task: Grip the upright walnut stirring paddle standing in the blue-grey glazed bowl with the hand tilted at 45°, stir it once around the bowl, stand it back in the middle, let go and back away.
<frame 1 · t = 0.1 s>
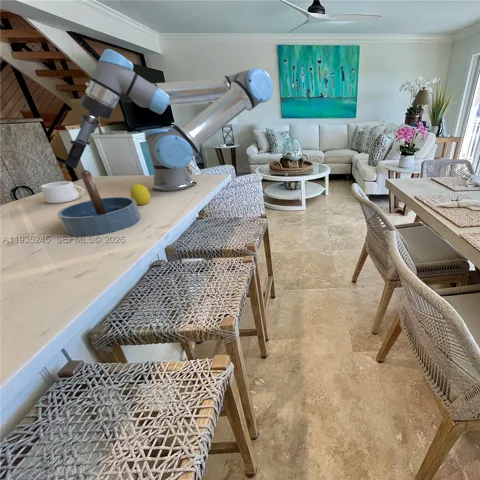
hand: (71, 163, 83), 15 cm above the counter, tool tilted 35°, fingers open, 13 cm apart
bowl: (106, 225, 78), on the counter
mug: (67, 200, 100), on the counter
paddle: (105, 223, 77), point 1 cm above the counter, touching bowl
lemon: (144, 206, 93), on the counter
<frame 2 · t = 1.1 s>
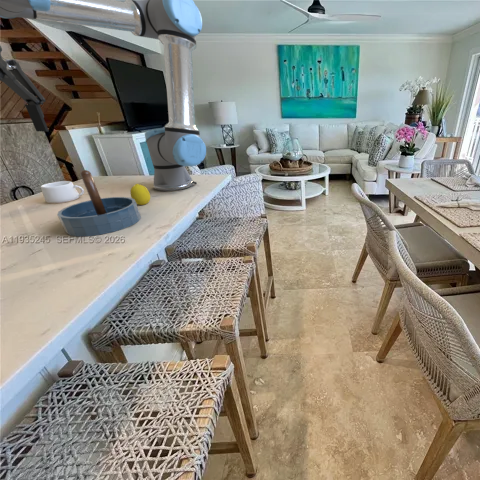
hand: (17, 133, 66), 25 cm above the counter, tool pointing down, fingers open, 13 cm apart
nothing on the counter moved.
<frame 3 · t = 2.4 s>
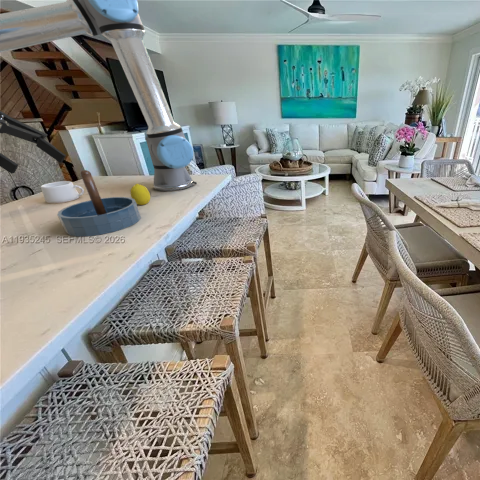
hand: (41, 163, 69), 18 cm above the counter, tool tilted 45°, fingers open, 13 cm apart
nothing on the counter moved.
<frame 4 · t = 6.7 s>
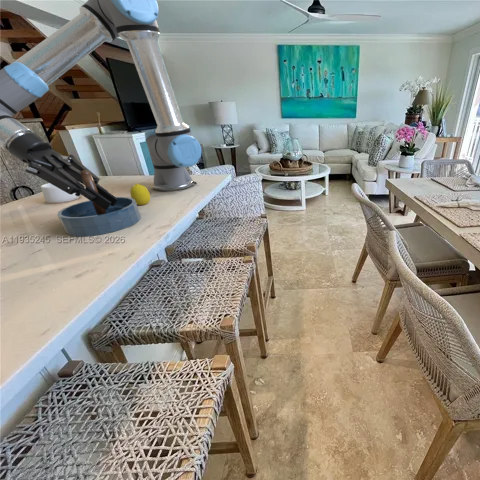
hand: (111, 204, 75), 7 cm above the counter, tool tilted 45°, fingers closed on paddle, 2 cm apart
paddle: (105, 223, 77), point 1 cm above the counter, touching bowl, gripper
everything else where it was.
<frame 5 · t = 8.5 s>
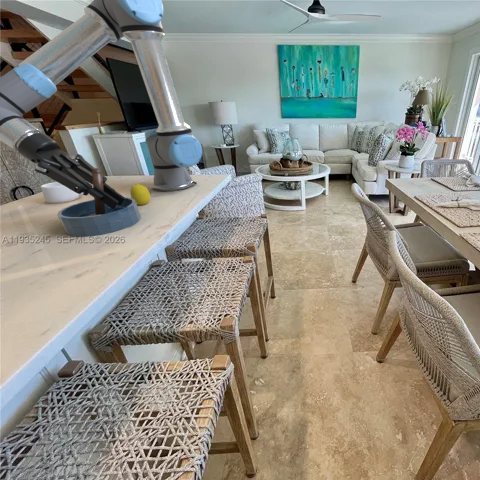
hand: (119, 203, 75), 7 cm above the counter, tool tilted 45°, fingers closed on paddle, 2 cm apart
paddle: (101, 220, 77), point 2 cm above the counter, tilted 15°, touching gripper
everything else where it was.
when the fingers open (6 cm above the counter, at t = 10.5 s): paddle stays where it is, resting on bowl.
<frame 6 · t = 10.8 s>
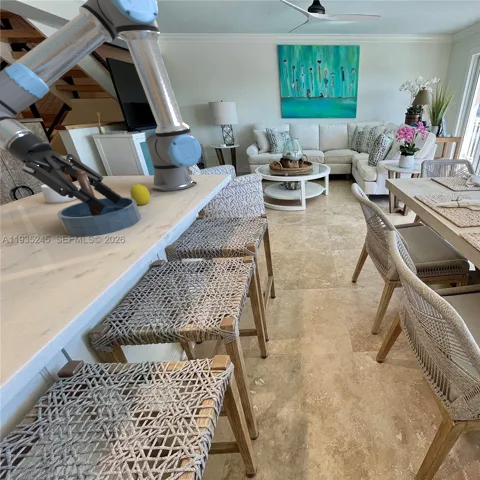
hand: (110, 204, 75), 7 cm above the counter, tool tilted 45°, fingers open, 6 cm apart
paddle: (99, 222, 77), point 1 cm above the counter, touching bowl
everything else where it was.
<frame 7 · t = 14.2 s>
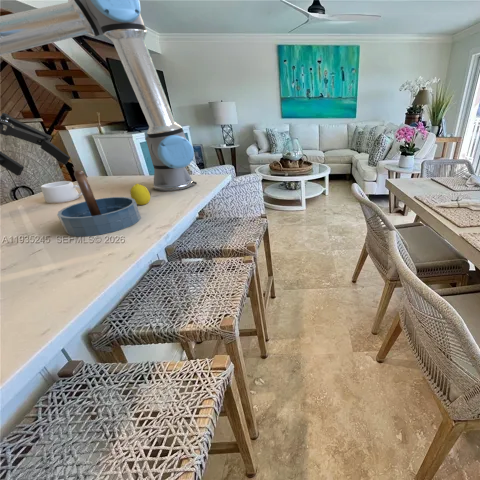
hand: (46, 165, 70), 17 cm above the counter, tool tilted 45°, fingers open, 13 cm apart
nothing on the counter moved.
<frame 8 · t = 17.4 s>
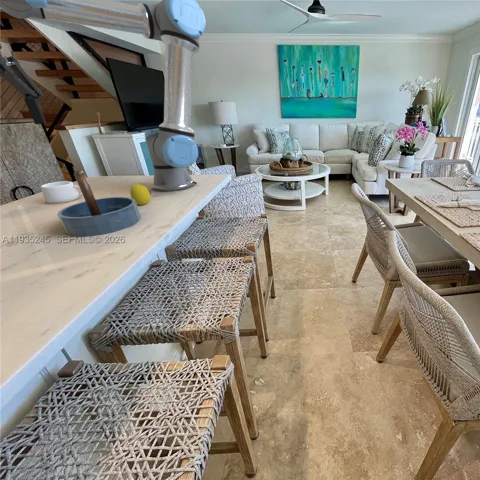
hand: (18, 126, 71), 27 cm above the counter, tool pointing down, fingers open, 13 cm apart
nothing on the counter moved.
at the end: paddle 1.6 cm off-centre in the bowl, point 0.8 cm above the bowl's base; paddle tilted 0°; the gripper is holding nothing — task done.
